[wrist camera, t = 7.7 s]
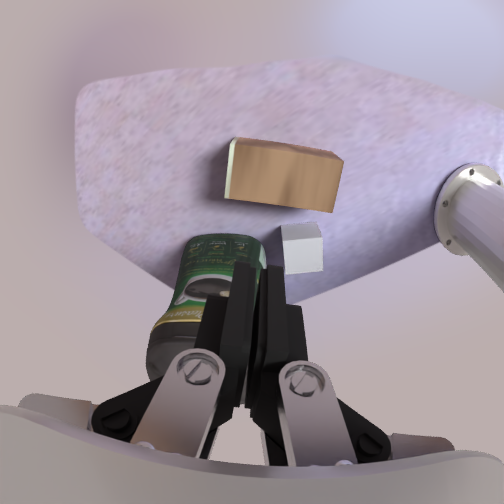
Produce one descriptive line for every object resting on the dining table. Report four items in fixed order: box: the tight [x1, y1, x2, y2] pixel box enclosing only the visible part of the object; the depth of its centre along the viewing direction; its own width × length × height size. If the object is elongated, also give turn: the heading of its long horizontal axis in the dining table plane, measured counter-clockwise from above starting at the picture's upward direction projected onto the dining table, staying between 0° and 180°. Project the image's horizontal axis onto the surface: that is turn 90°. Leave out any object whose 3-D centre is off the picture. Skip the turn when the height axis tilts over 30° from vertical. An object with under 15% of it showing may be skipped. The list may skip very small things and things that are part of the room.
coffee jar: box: [146, 234, 266, 404], centre depth 28 cm, size 10×8×19 cm
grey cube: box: [281, 222, 323, 275], centre depth 33 cm, size 4×4×4 cm
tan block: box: [224, 137, 344, 213], centre depth 28 cm, size 5×5×10 cm
